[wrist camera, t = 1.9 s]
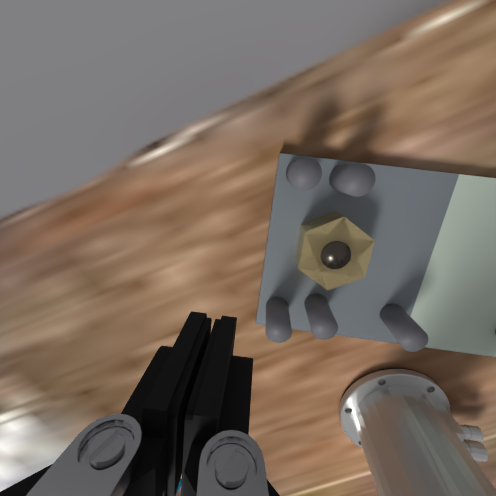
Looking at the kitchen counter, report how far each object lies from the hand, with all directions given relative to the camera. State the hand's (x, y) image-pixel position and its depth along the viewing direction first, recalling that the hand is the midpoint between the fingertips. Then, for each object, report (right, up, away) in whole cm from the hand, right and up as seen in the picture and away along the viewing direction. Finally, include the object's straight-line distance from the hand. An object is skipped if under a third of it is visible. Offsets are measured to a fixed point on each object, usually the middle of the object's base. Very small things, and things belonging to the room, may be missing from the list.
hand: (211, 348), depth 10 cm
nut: (+9, +4, +16) cm, 19 cm away
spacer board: (+20, +2, +17) cm, 27 cm away
